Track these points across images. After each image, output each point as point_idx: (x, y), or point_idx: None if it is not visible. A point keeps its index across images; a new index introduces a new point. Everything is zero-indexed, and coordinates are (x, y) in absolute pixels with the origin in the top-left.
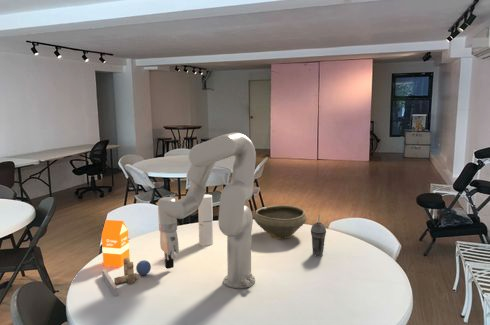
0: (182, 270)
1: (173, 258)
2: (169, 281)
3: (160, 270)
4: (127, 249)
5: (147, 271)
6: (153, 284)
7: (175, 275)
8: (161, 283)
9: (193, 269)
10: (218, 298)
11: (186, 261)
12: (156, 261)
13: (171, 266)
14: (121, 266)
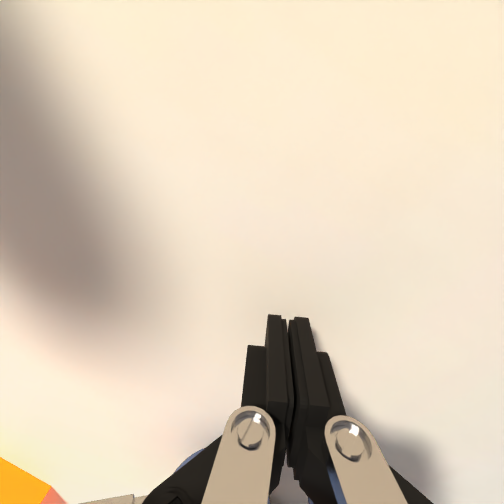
0: (358, 229)
1: (372, 439)
2: (454, 397)
3: (226, 366)
4: None
5: (268, 496)
6: (401, 469)
7: (401, 325)
8: (432, 439)
9: (435, 108)
10: None
11: (156, 58)
12: (31, 319)
13: (324, 357)
14: (47, 489)
